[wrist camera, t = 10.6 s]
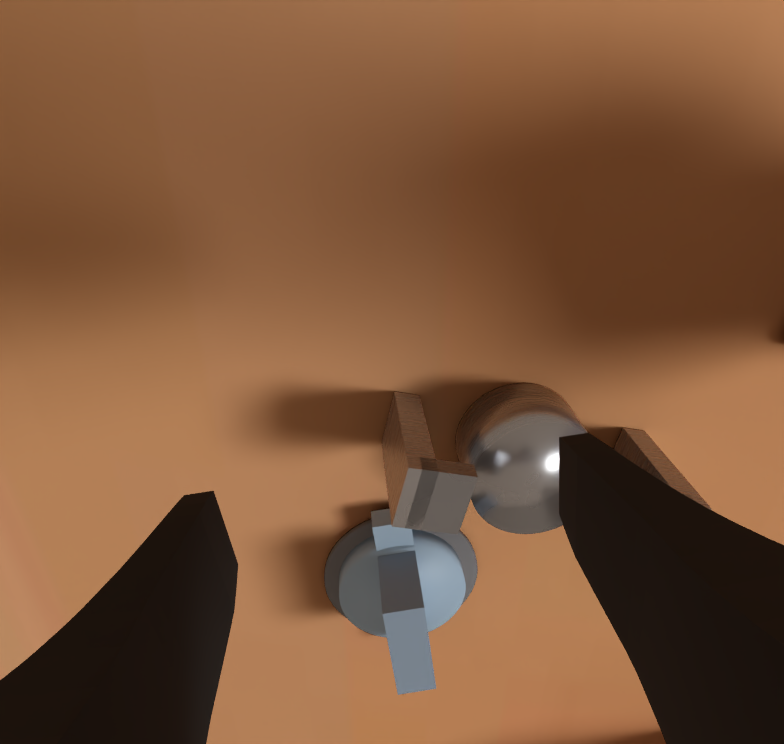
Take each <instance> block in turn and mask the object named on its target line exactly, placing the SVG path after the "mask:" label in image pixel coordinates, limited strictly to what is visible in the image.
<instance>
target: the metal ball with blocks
mask: <svg viewBox="0 0 784 744" xmlns="http://www.w3.org/2000/svg"><path fill="white" fill-rule="evenodd" d="M583 433H588V432H587V431H586V429H585V428H584V426H583V425H582V423H581V422H580V421H579V419H578V418H577V416H576V415H575V413H574V412H573V411H572V409H571V408H570V406H569V405H568V403H567V402H566V401H565V400H564V399H563V398H562V396H560V395H559V394H558V393H556V392H555V391H553V390H551V389H549V388H547V387H544V386H541V385H537V384H530V383H517V384H510V385H506V386H502V387H500V388H497V389H494V390H492V391H490V392H488V393H487V394H485V395H484V396H482V397H481V398H479V399H478V400H477V401H476V402H474V403H473V404H472V405H471V407H470V408H469V409H468V410H467V411H466V413H465V414H464V416H463V417H462V419H461V421H460V423H459V426H458V428H457V432H456V440H455V444H456V451H457V455H458V459H459V462H453V461H446V460H439V459H436V458H435V454H434V450H433V446H432V442H431V439H430V435H429V431H428V427H427V423H426V419H425V415H424V411H423V408H422V404H421V400H420V396H419V395H414V394H407V393H401V392H394V395H393V399H392V403H391V407H390V411H389V415H388V419H387V423H386V427H385V431H384V435H383V439H382V451H383V460H384V468H385V476H386V484H387V492H388V500H389V508H390V517H391V525H392V527H399V528H407V529H416V530H424V531H433V532H441V533H450V534H458V533H459V530H460V528H461V525H462V522H463V519H464V516H465V513H466V510H467V507H468V505H469V502H470V499H471V500H472V502H473V505H474V507H475V509H476V510H477V512H478V514H479V515H480V516H481V517H482V518H483V519H484V520H485V521H486V522H488V523H489V524H491V525H492V526H494V527H496V528H498V529H501V530H504V531H507V532H511V533H518V534H533V533H541V532H545V531H549V530H552V529H555V528H558V527H560V526H562V525H563V523H562V521H561V518H560V515H559V437H563V436H570V435H576V434H583ZM614 450H615V451H617V452H618V453H620V454H621V455H622V456H624V457H625V458H627V459H628V460H630V461H631V462H633V463H634V464H636V465H637V466H639V467H640V468H642V469H643V470H645V471H647V472H648V473H650V474H651V475H653V476H654V477H656V478H657V479H659V480H661V481H662V482H664V483H665V484H667V485H669V486H670V487H672V488H674V489H675V490H677V491H679V492H680V493H682V494H684V495H685V496H687V497H689V498H690V499H692V500H694V501H696V502H698V503H699V504H701V505H703V506H705V507H706V508H708V509H710V510H711V508H710V506H709V505H708V504H707V503H706V502H705V501H704V499H703V498H702V497H701V496H700V495H699V494H698V492H697V491H696V490H695V489H694V488H693V487H692V486H691V484H690V483H689V482H688V481H687V480H686V479H685V477H684V476H683V475H682V474H681V473H680V472H679V470H678V469H677V468H676V467H675V466H674V465H673V463H672V462H671V461H670V460H669V459H668V458H667V456H666V455H665V454H664V453H663V452H662V451H661V449H660V448H659V447H658V446H657V445H656V444H655V442H654V441H653V440H652V439H651V438H650V437H649V435H648V434H647V433H646V432H645V431H641V430H635V429H628V428H623V429H622V431H621V433H620V436H619V438H618V440H617V442H616V444H615V447H614Z"/></svg>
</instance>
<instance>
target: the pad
mask: <svg viewBox="0 0 784 744" xmlns="http://www.w3.org/2000/svg"><path fill="white" fill-rule="evenodd" d="M414 530H416V529H414ZM421 531H424V530H421ZM425 532H429V533H432V534H434V535H436V536H438V537H440V538H442V539H443V540H445V541H446V542H447V543H449V544H450V545H451V546H452V547H453V549H454V550H455V551H456V553H457V555H458V557H459V559H460V562H461V566H462V570H463V574H464V578H465V583H466V591H465V596H464V599H463V602H464V601H465V600H466V599H467V597H468V596H469V594H470V593H471V591H472V589H473V587H474V585H475V581H476V578H477V560H476V556H475V553H474V550H473V547H472V545H471V543H470V542H469V540H468V539H467V537H466V536H465V535H464V534H463V533H462V532H461V531H460V530H459V533H458V534H450V533H441V532H433V531H425ZM372 536H374V535H373V529H372V519H370V520H368V521H366V522H363V523H361V524H359V525H358V526H356V527H355V528H353V529H351V530H350V531H349V532H347V533H346V534H345V535H344V536H343V537H342V538H341V539H340V540H339V541H338V542H337V543H336V545H335V546H334V547H333V549H332V550H331V552H330V554H329V556H328V559H327V562H326V566H325V576H324V578H325V588H326V592H327V595H328V597H329V599H330V601H331V602H332V604H333V606H334V607H335V608H336V609H337V610H338V611H339V612H340V613H341V614H342V615H343V616H345V614H344V612H343V611H342V608H341V605H340V600H339V574H340V569H341V566H342V564H343V562H344V560H345V558H346V557H347V555H348V554H349V553H350V552H351V551H352V550H353V549H354V548H355V547H356V546H357V545H358V544H360V543H361V542H363V541H364V540H366V539H368V538H370V537H372ZM463 602H462V604H463ZM462 604H461V605H462ZM345 617H346V616H345ZM346 618H347V617H346Z"/></svg>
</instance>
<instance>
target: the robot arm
mask: <svg viewBox="0 0 784 744" xmlns="http://www.w3.org/2000/svg"><path fill="white" fill-rule="evenodd" d="M559 515H560V518H561V521H562V523H563V526H564V529H565V531H566V534H567V537H568V539H569V542H570V544H571V547H572V549H573V552H574V555H575V557H576V559H577V561H578V563H579V565H580V567H581V568H582V570H583V572H584V574H585V576H586V578H587V580H588V582H589V583H590V585H591V587H592V589H593V591H594V593H595V595H596V596H597V598H598V600H599V602H600V604H601V606H602V608H603V609H604V611H605V613H606V615H607V617H608V619H609V620H610V622H611V624H612V626H613V628H614V630H615V632H616V633H617V635H618V637H619V639H620V641H621V643H622V644H623V646H624V648H625V650H626V652H627V654H628V656H629V658H630V660H631V662H632V664H633V666H634V668H635V670H636V672H637V674H638V677H639V679H640V681H641V684H642V686H643V688H644V691H645V693H646V696H647V698H648V700H649V703H650V705H651V707H652V710H653V712H654V715H655V717H656V719H657V722H658V724H659V727H660V729H661V732H662V734H663V737H664V739H665V742H666V744H784V545H782V544H780V543H777V542H775V541H773V540H770V539H768V538H766V537H764V536H762V535H760V534H758V533H756V532H753V531H751V530H749V529H747V528H745V527H743V526H741V525H739V524H737V523H735V522H733V521H731V520H729V519H727V518H725V517H723V516H721V515H719V514H717V513H715V512H714V511H712V510H710V509H708V508H706V507H705V506H703V505H701V504H699V503H698V502H696V501H694V500H692V499H690V498H689V497H687V496H685V495H684V494H682V493H680V492H679V491H677V490H675V489H674V488H672V487H670V486H669V485H667V484H665V483H664V482H662V481H661V480H659V479H657V478H656V477H654V476H653V475H651V474H650V473H648V472H647V471H645V470H643V469H642V468H640V467H639V466H637V465H636V464H634V463H633V462H631V461H630V460H628V459H627V458H625V457H624V456H622V455H621V454H620V453H618V452H617V451H615V450H614V449H612V448H611V447H609V446H608V445H606V444H605V443H603V442H602V441H600V440H599V439H597V438H596V437H594V436H593V435H591V434H590V433H583V434H576V435H570V436H563V437H559ZM237 572H238V563H237V560H236V557H235V554H234V551H233V548H232V545H231V542H230V539H229V536H228V533H227V530H226V527H225V524H224V521H223V518H222V515H221V512H220V509H219V506H218V503H217V500H216V497H215V494H214V491H209V492H203V493H196V494H190V495H184V496H183V497H182V498H181V499H180V500H179V502H178V503H177V504H176V505H175V506H174V507H173V508H172V510H171V511H170V512H169V513H168V514H167V515H166V517H165V518H164V519H163V520H162V521H161V522H160V524H159V525H158V526H157V527H156V528H155V530H154V531H153V532H152V533H151V534H150V535H149V537H148V538H147V539H146V540H145V541H144V542H143V543H142V545H141V546H140V547H139V548H138V549H137V550H136V551H135V553H134V554H133V555H132V556H131V557H130V558H129V559H128V561H127V562H126V563H125V564H124V565H123V566H122V567H121V569H120V570H119V571H118V572H117V573H116V574H115V575H114V576H113V577H112V578H111V579H110V580H109V581H108V582H107V583H106V584H105V585H104V586H103V587H102V588H101V590H100V591H99V592H98V593H97V594H96V595H95V596H94V597H93V598H92V599H91V600H90V601H89V602H88V603H87V604H86V605H85V606H84V607H83V608H82V609H81V610H80V611H79V612H78V613H77V614H76V615H75V616H74V617H73V618H72V619H71V620H70V621H69V622H68V623H67V624H66V625H65V626H64V627H63V628H61V629H60V630H59V631H58V632H57V633H56V634H55V635H54V636H53V637H51V638H50V639H49V640H48V641H47V642H46V643H45V644H44V645H43V646H41V647H40V648H39V649H38V650H37V651H36V652H35V653H33V654H32V655H31V656H30V657H29V658H28V659H26V660H25V661H24V662H23V663H22V664H20V665H19V666H18V667H17V668H15V669H14V670H13V671H12V672H10V673H9V674H8V675H7V676H5V677H4V678H3V679H2V680H0V744H206V741H207V736H208V730H209V725H210V719H211V715H212V710H213V706H214V701H215V697H216V692H217V688H218V683H219V679H220V674H221V670H222V665H223V661H224V656H225V652H226V647H227V642H228V638H229V633H230V628H231V624H232V619H233V614H234V607H235V597H236V586H237Z"/></svg>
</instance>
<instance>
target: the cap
mask: <svg viewBox="0 0 784 744" xmlns="http://www.w3.org/2000/svg"><path fill="white" fill-rule="evenodd" d="M371 519H372V529H373V535H374V536H372V537H370V538H368V539H366V540H364V541H363V542H361V543H360V544H358V545H357V546H356V547H355V548H354V549H353V550H352V551H351V552H350V553H349V554H348V555H347V557H346V558H345V560H344V562H343V564H342V566H341V569H340V574H339V600H340V605H341V608H342V611H343V612H344V614H345V616H346V617H347V618H348V620H349V621H350V622H352V623H353V624H354V625H355V626H356V627H358V628H359V629H361V630H363V631H365V632H367V633H370V634H373V635H376V636H381V637H387V640H388V645H389V651H390V656H391V661H392V666H393V671H394V677H395V682H396V687H397V692H398V695H399V694H405V693H411V692H418V691H424V690H430V689H436V684H435V677H434V670H433V663H432V657H431V650H430V643H429V636H428V632H429V631H432V630H434V629H436V628H438V627H439V626H441V625H442V624H444V623H445V622H447V621H448V620H449V619H450V618H451V617H452V616H453V615H454V614H455V613H456V612H457V610H458V609H459V608H460V606H461V604H462V602H463V599H464V596H465V591H466V583H465V578H464V574H463V570H462V566H461V562H460V559H459V557H458V555H457V553H456V551H455V550H454V549H453V547H452V546H451V545H450V544H449V543H447V542H446V541H445V540H443V539H442V538H440V537H438V536H436V535H434V534H432V533H429V532H425V531H421V530H414V529H407V528H399V527H392V525H391V517H390V509H384V510H377V511H371Z"/></svg>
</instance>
